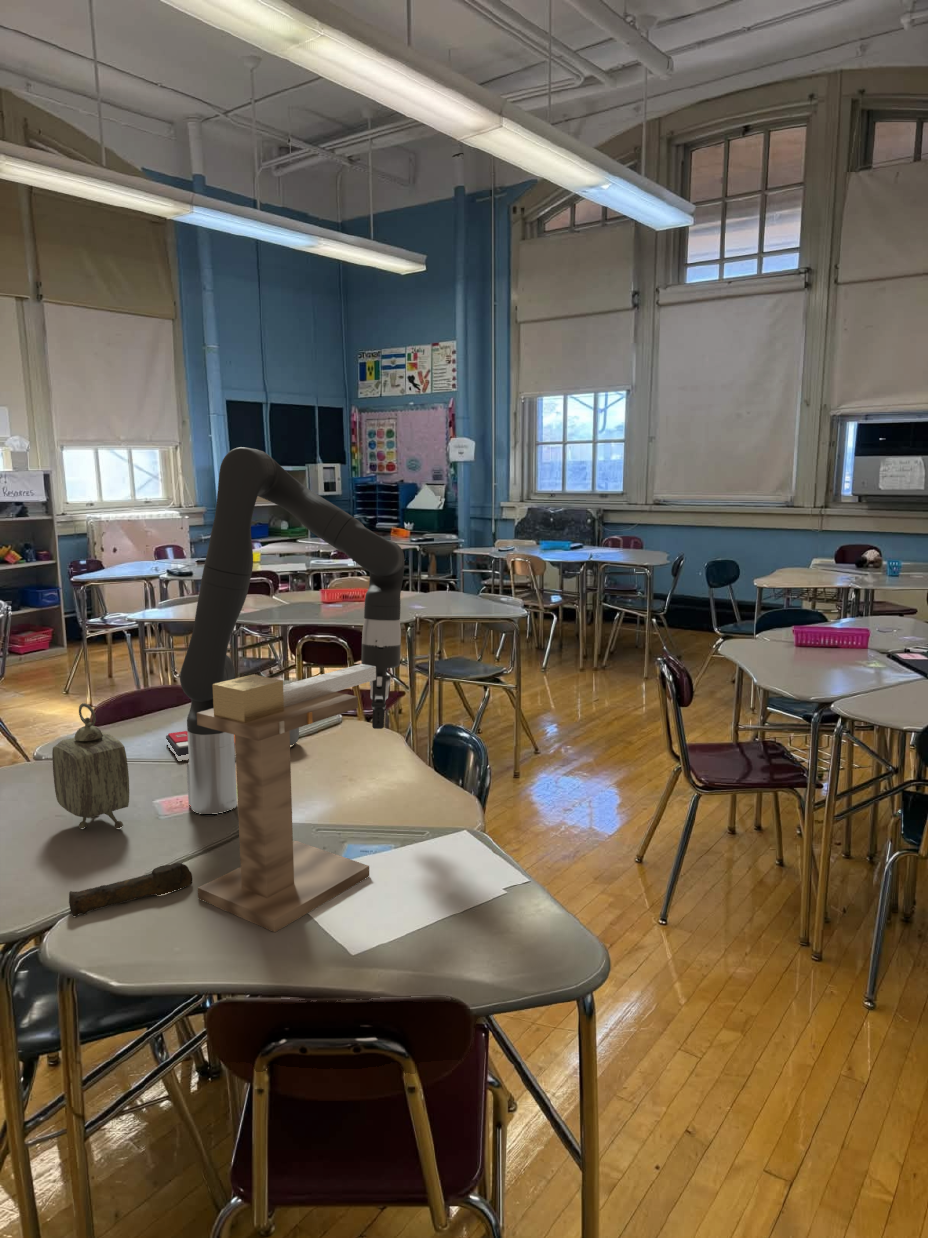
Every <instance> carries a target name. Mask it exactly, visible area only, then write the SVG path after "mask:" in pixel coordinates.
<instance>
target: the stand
mask: <svg viewBox="0 0 928 1238" xmlns="http://www.w3.org/2000/svg"><path fill="white" fill-rule="evenodd" d="M358 699H359V698H358V696H357V695H352V694H347V693H342V692H338V691H336V692H333V693H330V694H326V695H323V696H320V697H316V698H313V699H310V700H306V701H303V702H300V703H296V704H293V705H290V706H286V707H284V711H283V712H280V713H276V714H273V715H270V716H267V717H263V718H260V719H257V720H253V721H250V722H247V723H242V722H238V721H234V720H230V719H226V718H222V717H217V716H214V708H212V709H209V710H205V711H201V712H198V713H197V725H199V726H203V727H207V728H210V729H214V730H218V731H222V732H226V733H230V734H234V743H235V766H236V791H237V809H238V810H237V814H238V817H237V818H238V835H239V836H238V839H239V861H240V867H237V868H235V869H233V870H231V871H229V872H227V873H225V874H223V875H221V876H218V877H217V878H215V879H213V880H210V881H208V882H207V883H204V884H202V885H200V886H198V887H197V899H198V898H199V899H198V900H200V899H201V900H200V901H202V900H204V901H206V902H208V903H207V904H209V903H210V904H209V905H211V904H212V905H211V906H213V905H214V907H216V908H218V909H221V910H223V911H224V912H225V911H226V912H228V913H229V914H231V915H234V916H237V917H239V918H241V919H243V920H245V921H248V922H250V923H253V924H255V925H257V926H259V927H262V928H264V929H266V930H269V931H271V932H273V933H276V932H278V931H280V930H281V929H284V928H285V927H287V926H288V925H290V924H292V923H294V922H295V921H297V920H298V919H301V918H302V917H303V916H306V915H307V914H309V913H310V912H312V911H314V910H315V909H317V908H319V907H320V906H322V905H324V904H326V903H327V902H329V901H331V900H332V899H334V898H335V897H338V896H339V895H340V894H341V895H342V893H344V892H346V891H347V890H349V889H351V888H353V887H355V886H356V885H357V884H359V883H361V882H362V880H363V881H365V880H366V879H367V877H368V876H369V877H370V865H368V864H365V863H362V862H359V861H356V860H353V859H350V858H347V857H344V856H341V855H339V854H336V853H333V852H330V851H328V850H325V849H321V848H318V847H315V846H312V845H309V844H307V843H303V842H301V841H297V840H294V839H293V838H294V836H293V835H294V833H293V832H294V831H293V828H294V827H293V804H292V803H293V802H292V799H293V797H292V769H291V768H292V767H291V766H292V765H291V748H290V733H289V731H290V730H293V729H296V728H299V729H300V728H302V727H305V726H309V725H311V724H313V723H317V722H319V721H323V720H325V719H329V718H332V717H335V716H339V715H341V714H344V713H346V712H350V711H353V710H357V709H358V708H359V700H358ZM369 877H368V878H369ZM365 878H366V879H365ZM360 881H361V882H360ZM352 886H353V887H352ZM204 901H203V902H204ZM206 902H205V903H206Z"/></svg>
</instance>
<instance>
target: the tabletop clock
mask: <svg viewBox="0 0 928 1238" xmlns="http://www.w3.org/2000/svg"><path fill="white" fill-rule="evenodd" d="M83 708H86V709H88V710H89V711H90V713H91V716H92V722H91V718H90V717H86V718H84V716H83V714H82V709H83ZM78 715H79V718H80V720H81V722H82V723H83V724H84V726H82V727H80V728H78V729H77V731H76V732H75V733H74V737H70V738H67V739H63V740H61V741H59V742H58V743H57V744H55V746H53V747H52V752H51V754H52V755H51V757H52V759H51V760H52V771H53V772H52V774H53V775H52V776H53V783H54V784H53V785H54V793H55V797H56V801H57V803H58V805H60V806H61V807H62V808H63V809H64V810H66V811H67V812H68V813H70V814H71V815H74V816H76V817H81V818H82V821H81V822H79V824H78V828H79V827H80V828H84V827H87V828H88V826H89V825H88V822H87V819H91V818H93V817H97V816H101V815H106V816H107V817H109V818H110V819H111V820H112V822H113V823H114V825H113V827H114V829H116V828H120V827H122V826H123V827H124V823H123V821H121V820H117V818H116V816H115V815H114V813H113V812H114V811H115V812H116V811H118V810H119V811H120V810H122V809H125V808H128V807H129V804H130V776H129V766H128V758H127V751H126V749H125V746H124V744H123V743H122V741H120V740H119V739H118V738H116V737H114V736H113V735H111V734H109V733H106V732H102V731H101V729H100V728H99V727H98V726H95V724H96V713H95V711H94V708H93V707H92V706H91V705H89V703H87V702H86V703H85V702H83V703H81V704H79V706H78ZM123 827H122V828H123ZM80 828H79V829H80Z"/></svg>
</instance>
